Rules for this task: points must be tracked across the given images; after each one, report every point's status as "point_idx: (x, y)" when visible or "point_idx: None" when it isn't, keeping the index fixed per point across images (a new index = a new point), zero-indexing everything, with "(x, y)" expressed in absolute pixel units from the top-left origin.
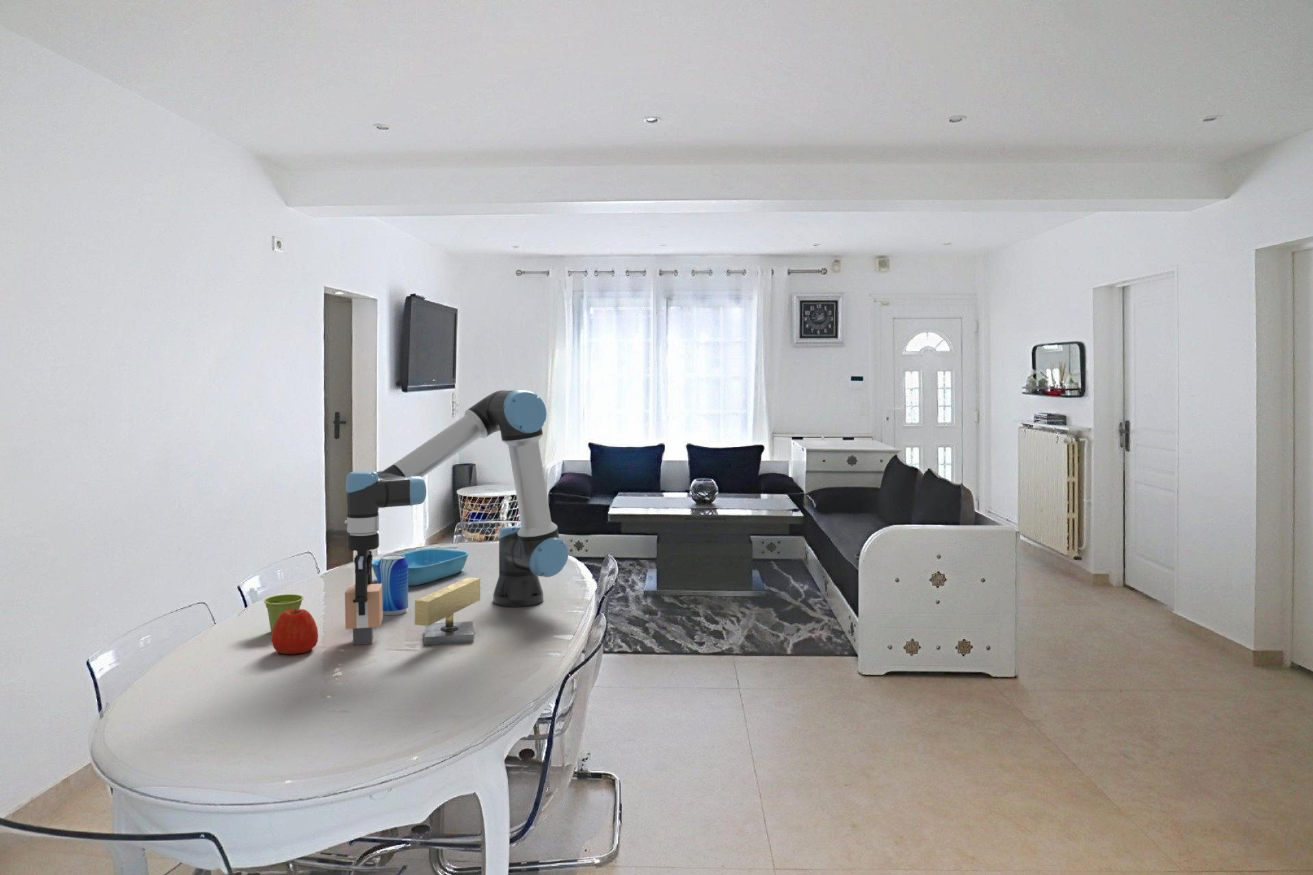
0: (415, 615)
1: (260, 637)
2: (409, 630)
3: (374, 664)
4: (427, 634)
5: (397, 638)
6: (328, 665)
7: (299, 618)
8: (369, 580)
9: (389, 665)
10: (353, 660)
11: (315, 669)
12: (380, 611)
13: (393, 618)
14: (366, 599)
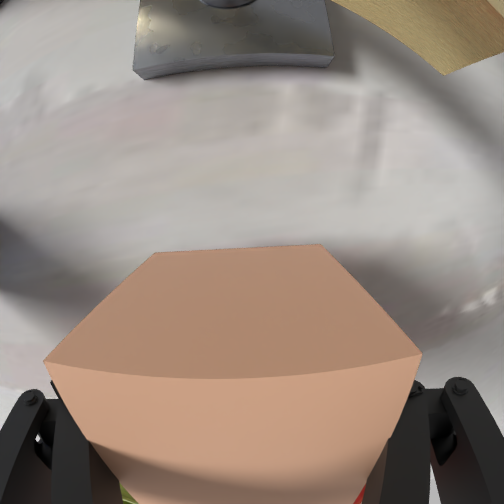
0: (470, 62)
1: None
2: (123, 142)
3: (471, 222)
4: (298, 44)
5: (223, 169)
6: (441, 335)
7: (364, 489)
8: (92, 475)
9: (482, 182)
10: (432, 285)
11: (452, 351)
12: (279, 268)
13: (12, 231)
14: (462, 380)
